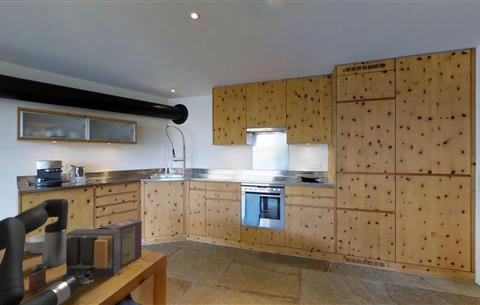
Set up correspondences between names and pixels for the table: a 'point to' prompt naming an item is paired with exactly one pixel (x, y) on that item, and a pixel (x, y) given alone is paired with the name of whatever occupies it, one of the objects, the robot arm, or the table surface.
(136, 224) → the box
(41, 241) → the paper bowls
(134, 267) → the table surface
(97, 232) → the box
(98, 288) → the table surface
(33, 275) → the lighter
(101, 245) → the panel
